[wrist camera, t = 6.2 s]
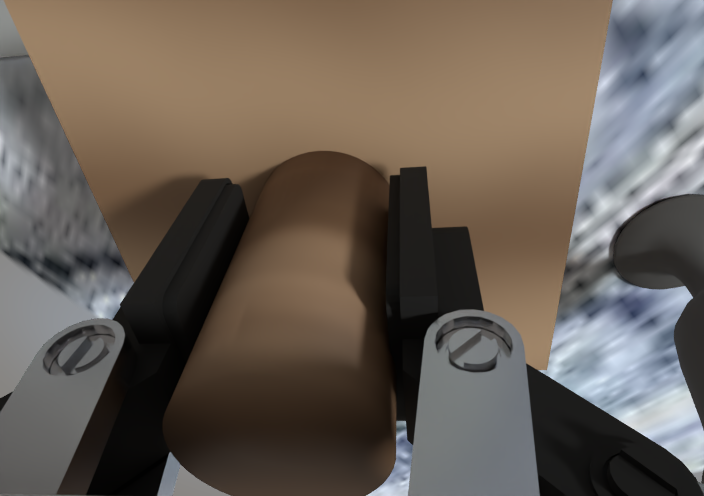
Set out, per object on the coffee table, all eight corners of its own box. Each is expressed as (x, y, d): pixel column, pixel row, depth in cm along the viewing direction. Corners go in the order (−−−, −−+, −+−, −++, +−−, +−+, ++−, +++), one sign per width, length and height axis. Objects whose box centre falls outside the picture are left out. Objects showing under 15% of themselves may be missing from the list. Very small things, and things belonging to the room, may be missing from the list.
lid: (24, -35, 10) (-454, 80, 4) (609, -104, 9) (990, -65, 3) (187, 348, 16) (76, 594, 11) (539, 343, 15) (621, 621, 9)
